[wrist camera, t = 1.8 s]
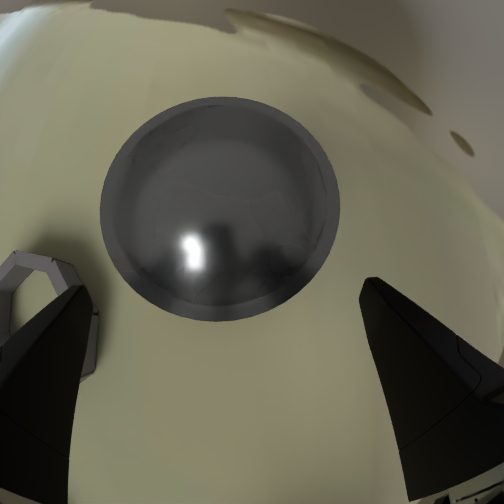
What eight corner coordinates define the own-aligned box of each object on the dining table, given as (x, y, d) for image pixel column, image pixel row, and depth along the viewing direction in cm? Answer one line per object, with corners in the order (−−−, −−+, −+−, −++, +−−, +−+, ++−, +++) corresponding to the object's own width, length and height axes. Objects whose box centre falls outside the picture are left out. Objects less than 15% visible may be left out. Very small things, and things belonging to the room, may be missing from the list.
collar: (123, 350, 17) (108, 355, 14) (43, 410, 15) (26, 418, 12) (57, 232, 18) (39, 223, 15) (-10, 305, 16) (-28, 303, 14)
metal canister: (286, 276, 18) (383, 216, 6) (219, 328, 17) (191, 374, 5) (235, 212, 19) (241, 70, 7) (169, 261, 18) (68, 179, 6)
